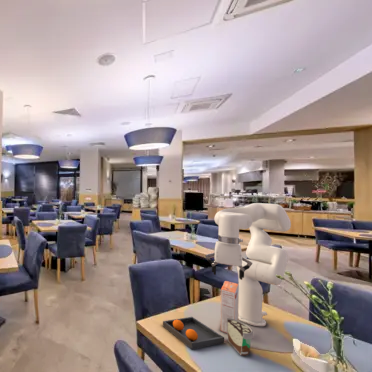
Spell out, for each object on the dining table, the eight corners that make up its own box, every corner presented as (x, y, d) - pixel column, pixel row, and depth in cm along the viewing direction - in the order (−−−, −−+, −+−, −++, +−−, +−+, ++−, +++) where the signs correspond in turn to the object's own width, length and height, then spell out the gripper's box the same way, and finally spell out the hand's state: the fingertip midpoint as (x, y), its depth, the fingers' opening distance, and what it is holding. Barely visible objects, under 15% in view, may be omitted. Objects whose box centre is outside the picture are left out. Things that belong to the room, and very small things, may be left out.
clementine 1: (178, 326, 115) (178, 317, 115) (186, 332, 110) (186, 322, 110) (170, 327, 113) (170, 318, 113) (178, 333, 109) (178, 323, 109)
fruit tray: (191, 321, 120) (192, 316, 120) (224, 343, 104) (224, 337, 104) (162, 326, 115) (162, 321, 115) (191, 349, 99) (191, 343, 99)
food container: (260, 360, 93) (261, 336, 93) (243, 358, 95) (244, 334, 95) (241, 340, 105) (241, 318, 105) (225, 338, 107) (226, 317, 107)
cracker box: (223, 319, 122) (224, 280, 122) (238, 324, 118) (239, 283, 118) (219, 330, 112) (220, 288, 112) (235, 336, 108) (236, 292, 108)
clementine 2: (191, 335, 107) (191, 326, 107) (200, 342, 103) (200, 332, 103) (183, 337, 106) (183, 327, 106) (191, 344, 102) (192, 333, 102)
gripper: (251, 241, 107) (250, 278, 107) (205, 236, 116) (204, 269, 116) (254, 244, 101) (253, 283, 101) (206, 238, 110) (205, 274, 110)
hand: (227, 276), depth 108 cm, fingers open, 9 cm apart
